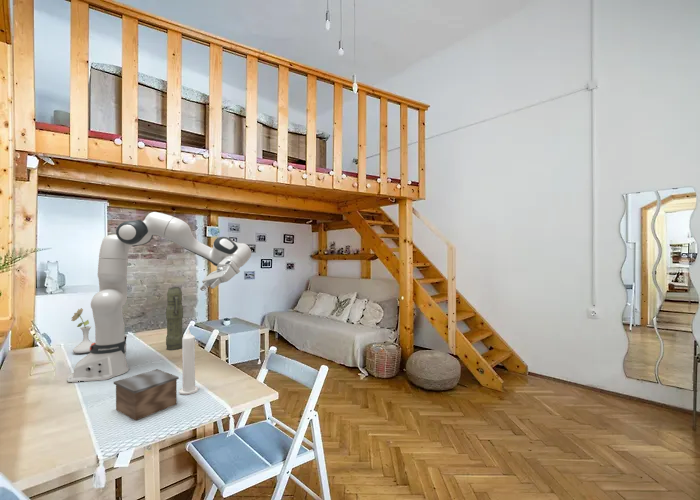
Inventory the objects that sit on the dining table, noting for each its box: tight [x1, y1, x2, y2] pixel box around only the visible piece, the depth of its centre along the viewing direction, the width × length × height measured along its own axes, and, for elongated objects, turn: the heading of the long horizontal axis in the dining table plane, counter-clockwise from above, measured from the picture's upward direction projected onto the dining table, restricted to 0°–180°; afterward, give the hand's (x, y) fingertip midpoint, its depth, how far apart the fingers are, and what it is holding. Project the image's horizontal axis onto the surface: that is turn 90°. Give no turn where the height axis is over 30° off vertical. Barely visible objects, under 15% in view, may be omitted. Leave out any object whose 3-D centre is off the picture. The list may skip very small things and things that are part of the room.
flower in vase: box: [70, 308, 94, 354], centre depth 187 cm, size 13×11×25 cm
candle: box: [178, 328, 199, 396], centre depth 135 cm, size 7×7×25 cm
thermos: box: [165, 286, 184, 351], centre depth 195 cm, size 9×12×35 cm
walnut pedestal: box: [113, 368, 180, 421], centre depth 122 cm, size 15×15×10 cm
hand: (206, 288), depth 154 cm, fingers open, 8 cm apart
